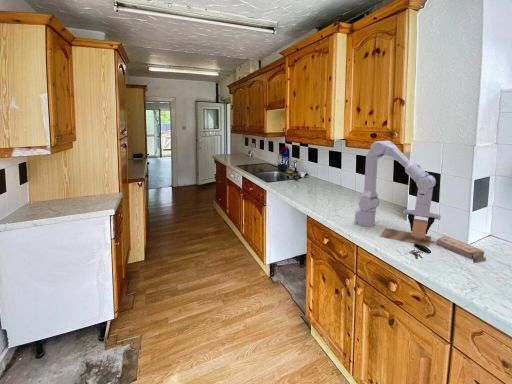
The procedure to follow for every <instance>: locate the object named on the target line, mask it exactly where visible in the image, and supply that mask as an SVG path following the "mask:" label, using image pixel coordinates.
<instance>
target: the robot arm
mask: <svg viewBox="0 0 512 384" xmlns="http://www.w3.org/2000/svg"><path fill="white" fill-rule="evenodd" d="M383 156H388V157H392V158H393V159H394V160H396V161H397V162H398V163H399V164H400V165H401V166H403V167H404V171H405V173H406V174H407V175H408V176H409V177H410V178H411V179H412V180H413V181H414V183H415V184H416V187H417V194H416V200H415V207H414V209H403V212H402V214H403V215H407V219H408V221H409V222H408V223H409V225H410V232H412V229H413V222H414V219H415V216H416V217H421V218H427V228H426V233H425V235H428V232H429V230H430V228H431V227H432V225H433V224H434V223H435V220H437V221H441V216H442V214H437V213H433V212H430V211H431V206H432V204H431V203H432V199H433V190H434V187H435V186H436V183H437V179H436V178H435V176H434V175H431V174H429V172H426V171H425V170H424V169H423V168H422V167H421V164H420V163H416V162H411V161H410V160H409V158H408V157H406V155H405V154H403V152H402V151H401V150H400V149H399V148H398V147H397V146H396V144H395V143H393V142H392V141H391V140H387V139H386V140H377V141H374V142H373V143H371V144H370V148H369V150H368V151H367V154H366V155H365V169H364V170H365V171H364V191H362V194H361V196H360V199H359V201H358V207H359V208H356V210H355V215H354V225H358V226H362V227H365V228H372V227H374V226H375V222H376V221H375V220H376V212H377V208H378V207H379V206H380V200H379V194H378V193H377V191H376V189H377V176H378V160H380V158H382V157H383Z"/></svg>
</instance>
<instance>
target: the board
mask: <svg viewBox="0 0 512 384" xmlns="http://www.w3.org/2000/svg"><path fill="white" fill-rule="evenodd" d="M379 237H380V238H385V239H389V240H394V241H399V242H404V243H409V244H413V245H414V244H415V245H420V246H424V247H428V248H429V247H430V246H431V240H432V236H430V235H427V234H425V238H421V240H416V239H414V238H415V236H412V232H411V231H410V232H407V231H402V230H398V229H393V228H388V227H385V228H384V230H383V231H382V233H381V234H380V235H379Z"/></svg>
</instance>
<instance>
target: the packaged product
mask: <svg viewBox="0 0 512 384" xmlns="http://www.w3.org/2000/svg"><path fill="white" fill-rule="evenodd" d="M436 244H437V246H439V247H441V248H442V249H445V250H448V251H450V252H452V253H455V254H457V255H460V256H461V257H465V258H467V259H470V260H472V262H473V263H479V262H483V261H486V260H487V257H486V256H485V255H484V254H485V251H484V250H482V249H481V248H477V247H475V246H473V245H470V244H467V243H465V242H462V241H460V240H457V239H455V238H452V237H450V236H447V235H443V236H442V237H440V238H438V239H436Z"/></svg>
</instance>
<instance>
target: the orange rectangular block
mask: <svg viewBox="0 0 512 384" xmlns="http://www.w3.org/2000/svg"><path fill="white" fill-rule="evenodd" d="M427 222H428V219H427V220H426V219H419V218H414V222H413V229H412V231H411V233H412V236H417V237H422V238H425V235H426V234H425V233H426V228H427Z"/></svg>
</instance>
